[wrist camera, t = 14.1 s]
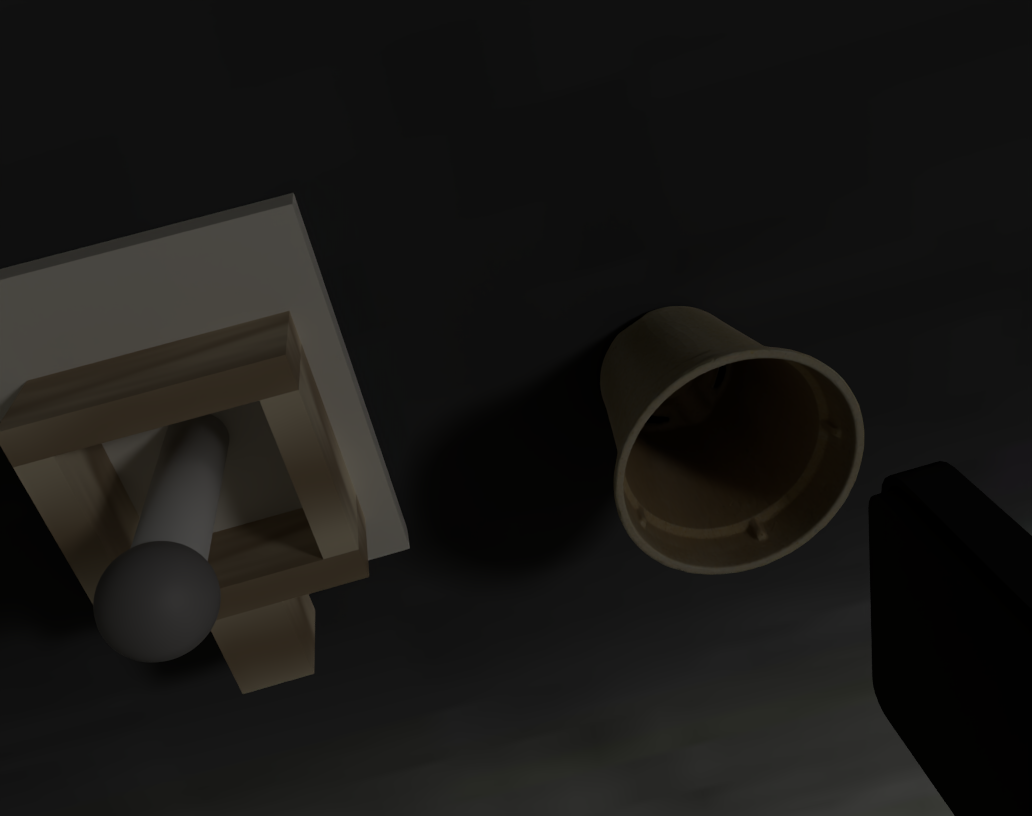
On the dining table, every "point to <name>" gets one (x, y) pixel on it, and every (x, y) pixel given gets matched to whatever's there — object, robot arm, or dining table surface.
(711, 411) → the flower pot
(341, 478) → the birch loop
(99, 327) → the post stand
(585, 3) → the dining table surface
